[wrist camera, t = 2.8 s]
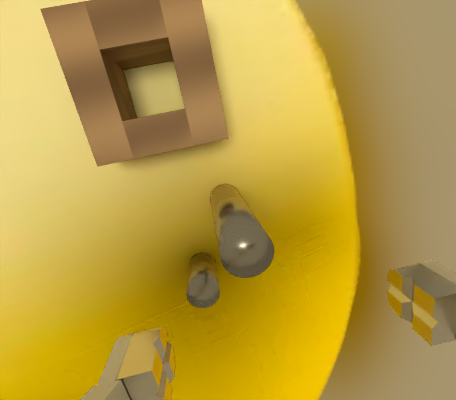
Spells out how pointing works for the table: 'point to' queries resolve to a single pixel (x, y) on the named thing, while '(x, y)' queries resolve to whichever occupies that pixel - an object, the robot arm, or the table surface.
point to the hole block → (130, 58)
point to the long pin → (239, 234)
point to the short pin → (202, 281)
